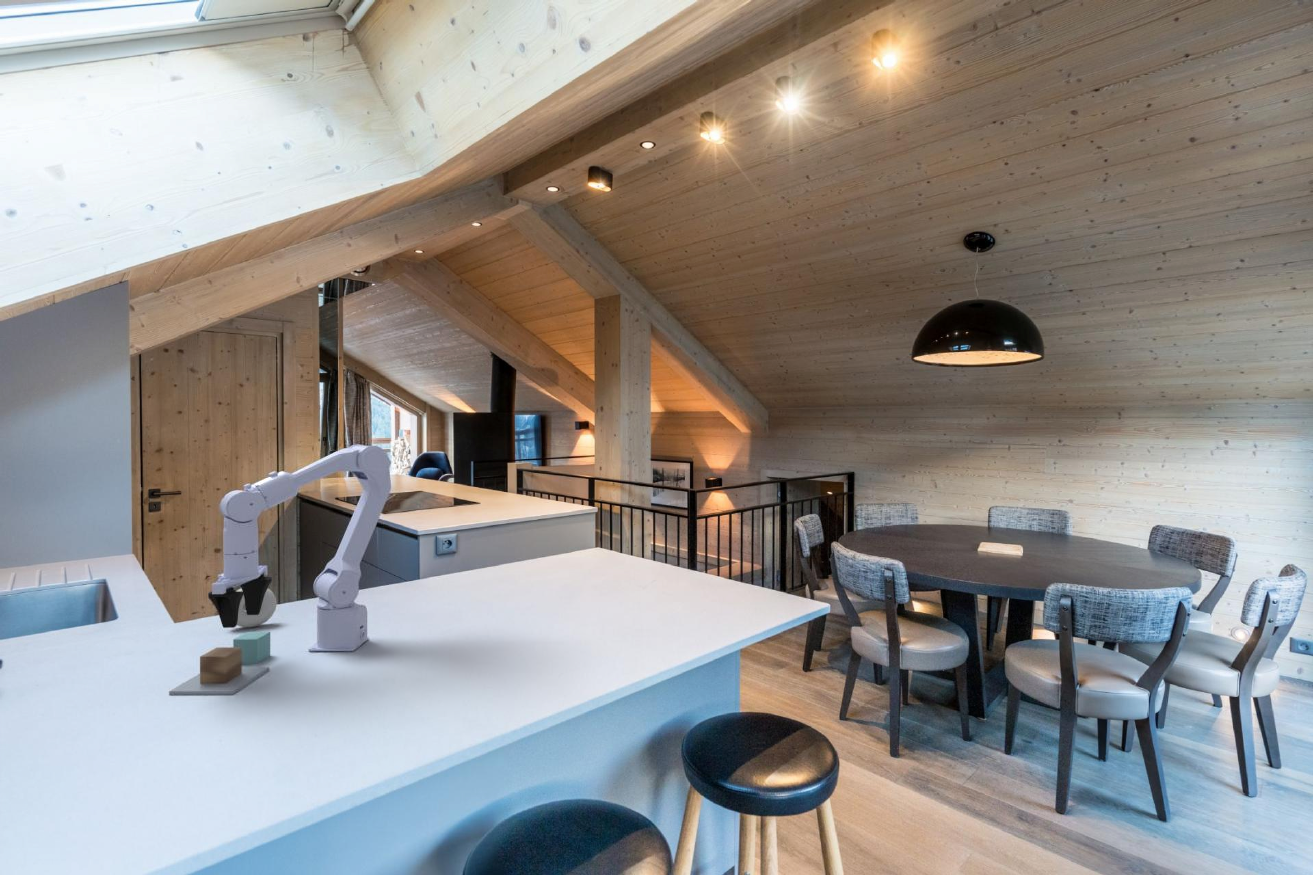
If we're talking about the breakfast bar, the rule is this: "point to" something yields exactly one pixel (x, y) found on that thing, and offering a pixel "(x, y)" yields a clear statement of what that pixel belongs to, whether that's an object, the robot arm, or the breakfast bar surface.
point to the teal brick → (253, 646)
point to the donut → (263, 616)
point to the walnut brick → (220, 665)
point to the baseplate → (219, 689)
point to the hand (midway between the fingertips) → (241, 620)
